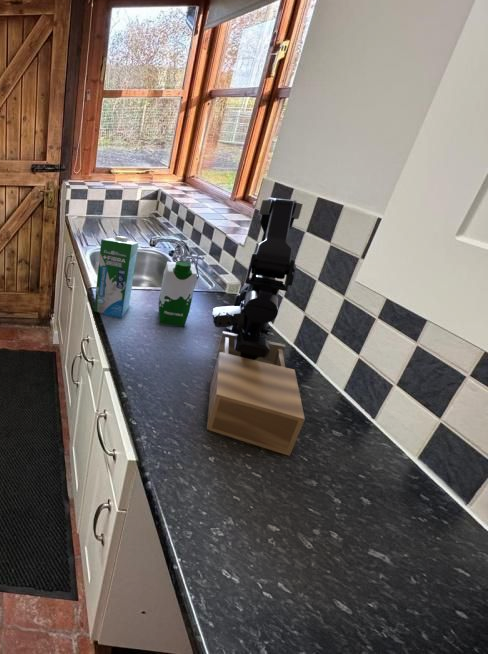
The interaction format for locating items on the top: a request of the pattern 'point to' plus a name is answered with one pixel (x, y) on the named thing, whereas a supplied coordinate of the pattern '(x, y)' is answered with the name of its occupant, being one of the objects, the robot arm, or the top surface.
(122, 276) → the milk carton
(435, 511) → the top surface
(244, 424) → the cabinet
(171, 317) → the soya milk
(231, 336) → the drawer
